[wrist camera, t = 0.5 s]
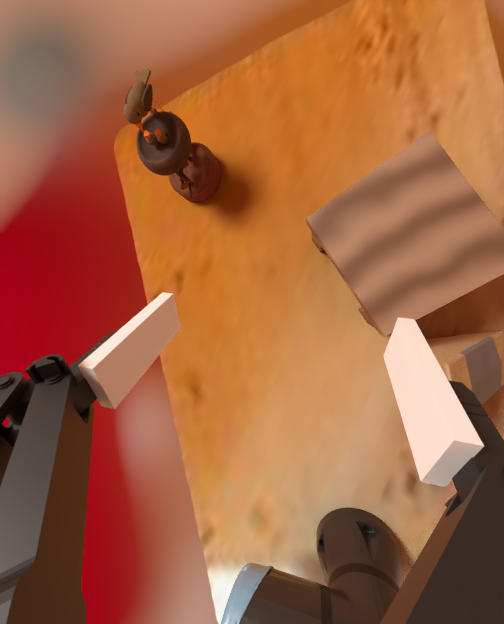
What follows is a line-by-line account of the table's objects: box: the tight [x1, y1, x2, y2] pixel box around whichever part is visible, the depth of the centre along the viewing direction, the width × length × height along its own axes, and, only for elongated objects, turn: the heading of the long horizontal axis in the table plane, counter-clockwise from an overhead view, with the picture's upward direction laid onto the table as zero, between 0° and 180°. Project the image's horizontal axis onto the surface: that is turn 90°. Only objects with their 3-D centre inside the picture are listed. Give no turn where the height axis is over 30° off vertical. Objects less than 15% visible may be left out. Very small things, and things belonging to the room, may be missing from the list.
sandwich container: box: [425, 331, 504, 405], centre depth 34 cm, size 9×15×15 cm, turn 101°
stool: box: [306, 131, 504, 336], centre depth 37 cm, size 20×18×12 cm
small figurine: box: [124, 70, 221, 202], centre depth 42 cm, size 15×11×20 cm
